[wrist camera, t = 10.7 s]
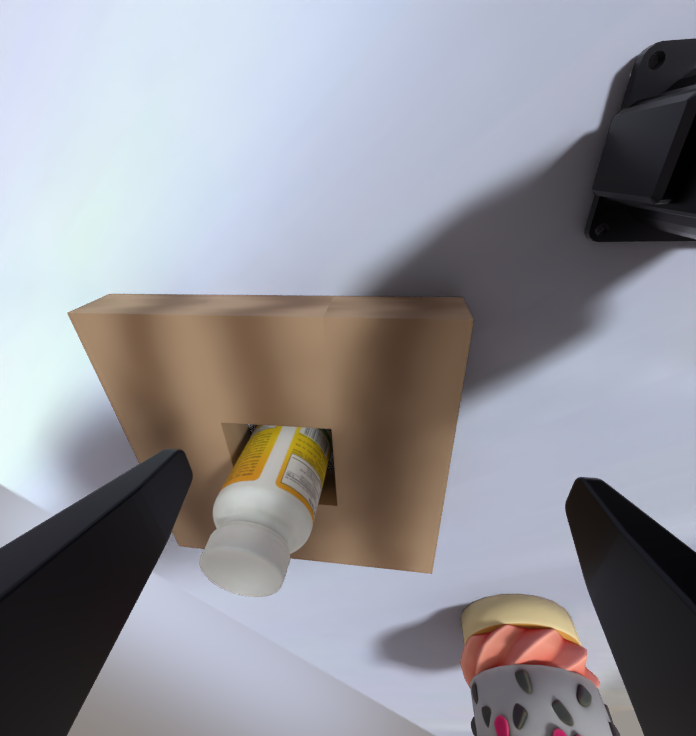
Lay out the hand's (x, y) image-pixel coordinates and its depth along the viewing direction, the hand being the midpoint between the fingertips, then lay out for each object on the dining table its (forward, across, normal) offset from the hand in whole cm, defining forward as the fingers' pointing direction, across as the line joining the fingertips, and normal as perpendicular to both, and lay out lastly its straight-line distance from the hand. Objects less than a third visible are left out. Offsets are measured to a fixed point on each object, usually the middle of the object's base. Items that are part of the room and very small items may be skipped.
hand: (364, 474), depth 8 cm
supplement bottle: (+12, +6, +10) cm, 17 cm away
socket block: (+12, +6, +10) cm, 17 cm away
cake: (+12, -13, +32) cm, 36 cm away
